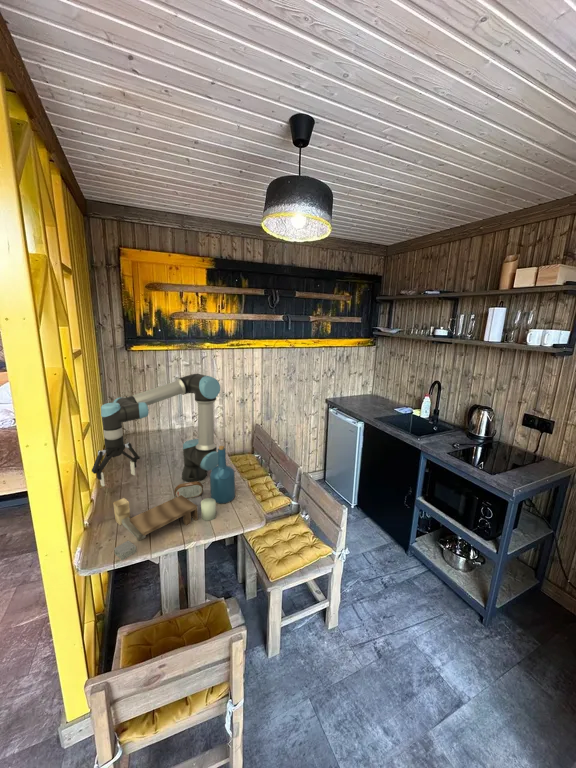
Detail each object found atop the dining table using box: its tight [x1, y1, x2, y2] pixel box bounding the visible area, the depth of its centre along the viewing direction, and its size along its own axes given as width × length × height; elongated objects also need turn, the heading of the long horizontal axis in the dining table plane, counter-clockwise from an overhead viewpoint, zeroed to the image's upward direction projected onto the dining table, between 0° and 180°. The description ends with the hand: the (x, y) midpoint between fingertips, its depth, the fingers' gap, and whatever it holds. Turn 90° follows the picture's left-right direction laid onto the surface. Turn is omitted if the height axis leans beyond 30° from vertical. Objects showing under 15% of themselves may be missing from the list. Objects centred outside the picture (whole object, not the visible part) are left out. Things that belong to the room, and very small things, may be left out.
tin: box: [173, 481, 204, 499], centre depth 173 cm, size 15×3×8 cm, turn 111°
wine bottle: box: [209, 445, 236, 505], centre depth 170 cm, size 14×13×30 cm
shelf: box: [129, 495, 199, 536], centre depth 149 cm, size 26×14×8 cm, turn 139°
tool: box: [112, 497, 147, 541], centre depth 147 cm, size 5×22×10 cm, turn 50°
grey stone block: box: [113, 540, 137, 561], centre depth 133 cm, size 6×6×3 cm
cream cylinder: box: [200, 497, 217, 522], centre depth 157 cm, size 7×7×8 cm
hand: (118, 479), depth 149 cm, fingers open, 13 cm apart
